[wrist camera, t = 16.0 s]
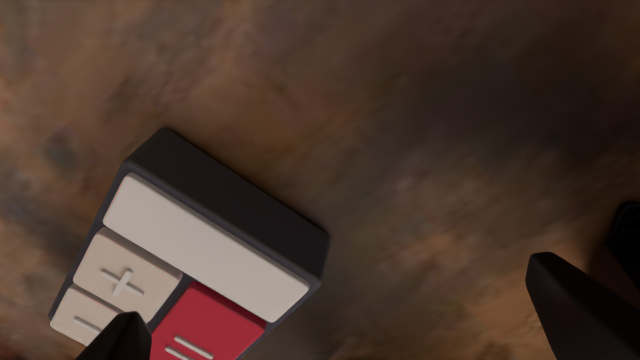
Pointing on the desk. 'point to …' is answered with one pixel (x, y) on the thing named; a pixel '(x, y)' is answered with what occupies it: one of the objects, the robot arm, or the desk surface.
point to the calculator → (189, 257)
